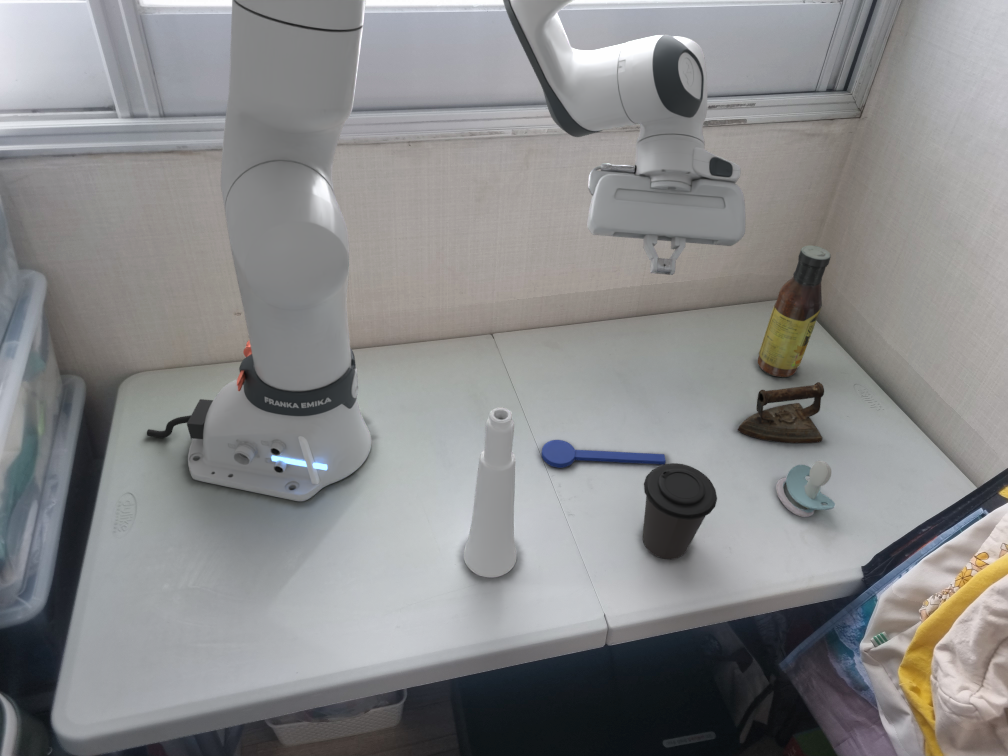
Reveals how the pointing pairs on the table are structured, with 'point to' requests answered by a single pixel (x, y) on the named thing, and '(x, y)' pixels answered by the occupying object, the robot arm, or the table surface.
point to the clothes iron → (785, 416)
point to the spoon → (592, 455)
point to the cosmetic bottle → (494, 501)
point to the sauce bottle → (794, 315)
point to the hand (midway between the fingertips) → (662, 273)
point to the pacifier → (806, 488)
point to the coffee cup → (675, 508)
